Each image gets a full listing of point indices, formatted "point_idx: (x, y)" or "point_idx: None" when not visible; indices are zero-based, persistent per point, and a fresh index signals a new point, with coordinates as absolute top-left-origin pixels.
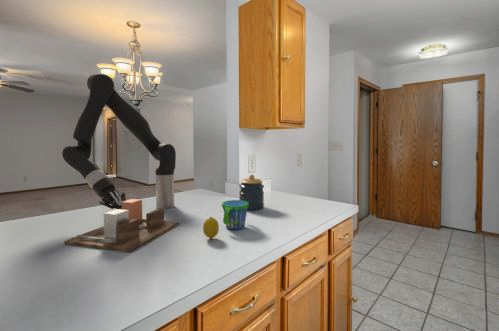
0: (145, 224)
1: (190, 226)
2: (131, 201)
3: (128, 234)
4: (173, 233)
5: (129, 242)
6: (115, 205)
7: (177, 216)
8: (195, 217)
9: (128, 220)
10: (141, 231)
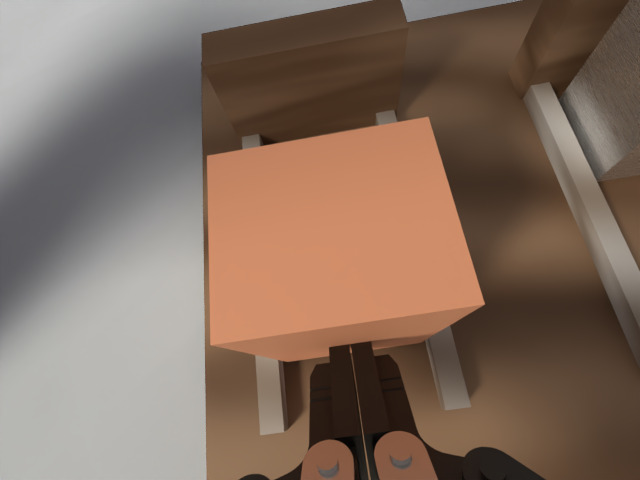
0: None
1: (223, 12)
2: (371, 186)
3: None
4: None
5: None
6: (494, 451)
7: (52, 182)
8: (58, 81)
9: (627, 9)
10: (451, 110)
